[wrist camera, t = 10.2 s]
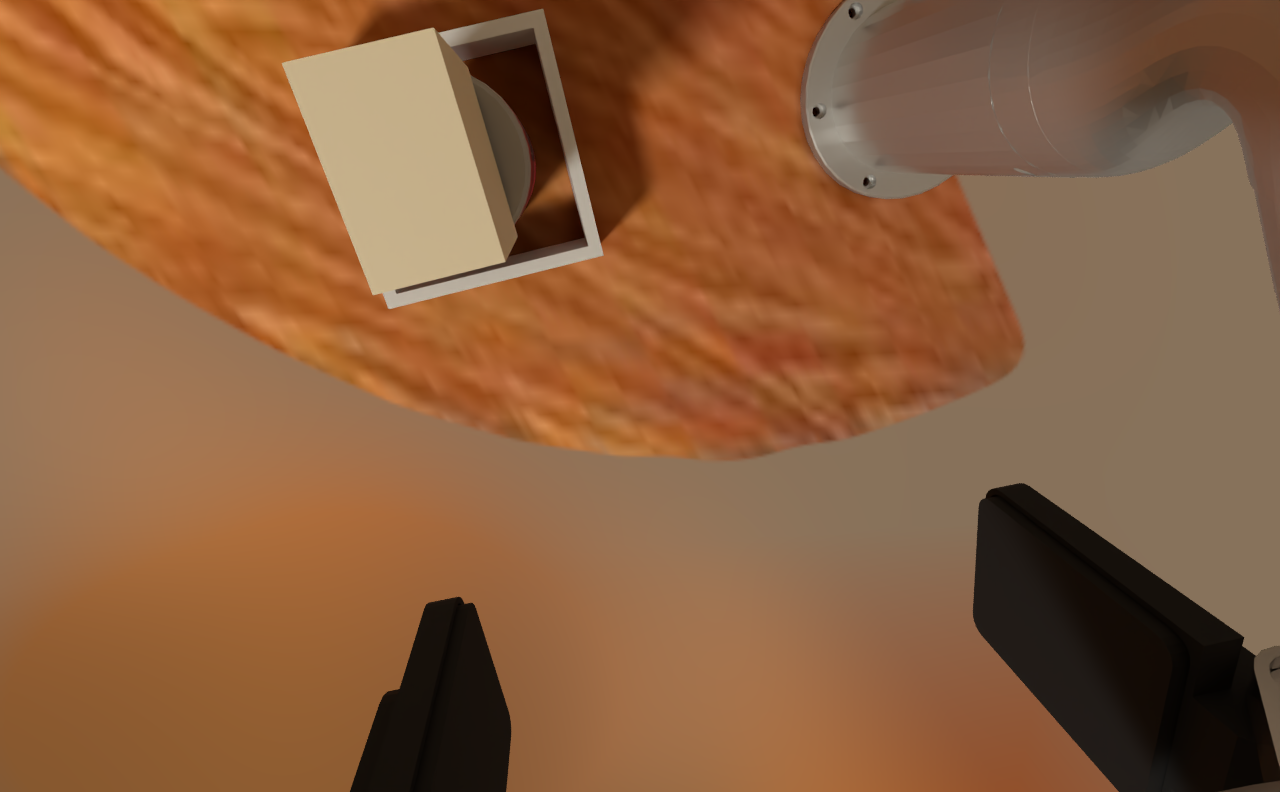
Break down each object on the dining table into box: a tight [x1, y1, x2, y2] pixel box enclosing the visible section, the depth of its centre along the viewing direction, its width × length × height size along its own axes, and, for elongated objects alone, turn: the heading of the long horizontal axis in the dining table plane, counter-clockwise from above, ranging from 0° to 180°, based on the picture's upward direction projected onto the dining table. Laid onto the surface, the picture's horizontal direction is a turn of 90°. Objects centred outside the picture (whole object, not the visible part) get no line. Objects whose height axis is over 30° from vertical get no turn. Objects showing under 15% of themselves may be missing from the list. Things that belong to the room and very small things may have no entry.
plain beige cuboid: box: [282, 28, 518, 295], centre depth 23 cm, size 4×7×8 cm, turn 13°
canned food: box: [470, 75, 536, 225], centre depth 32 cm, size 8×8×11 cm
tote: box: [383, 9, 603, 309], centre depth 35 cm, size 12×12×4 cm
